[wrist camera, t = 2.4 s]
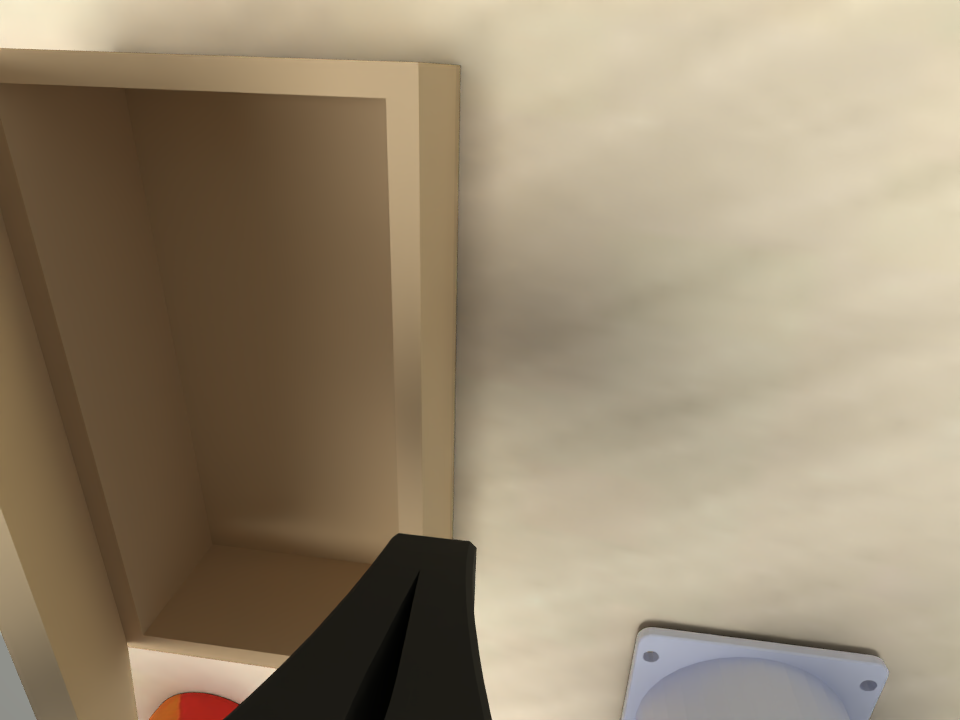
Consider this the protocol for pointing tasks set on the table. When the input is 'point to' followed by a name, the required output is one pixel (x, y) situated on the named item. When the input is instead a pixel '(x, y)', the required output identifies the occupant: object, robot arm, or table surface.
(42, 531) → the lid flap
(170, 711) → the paper cup
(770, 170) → the table surface
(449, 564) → the robot arm
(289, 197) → the kraft box
